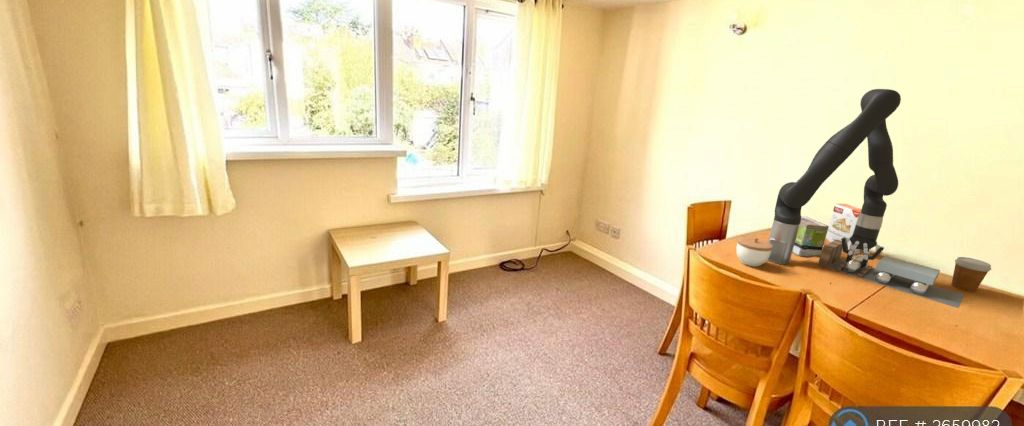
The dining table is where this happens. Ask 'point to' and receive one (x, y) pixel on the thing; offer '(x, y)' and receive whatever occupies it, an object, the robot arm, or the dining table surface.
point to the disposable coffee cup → (969, 273)
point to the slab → (908, 270)
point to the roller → (854, 263)
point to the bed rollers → (915, 287)
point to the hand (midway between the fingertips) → (855, 265)
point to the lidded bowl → (753, 251)
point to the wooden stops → (836, 257)
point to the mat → (907, 286)
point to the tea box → (810, 237)
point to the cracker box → (842, 224)
